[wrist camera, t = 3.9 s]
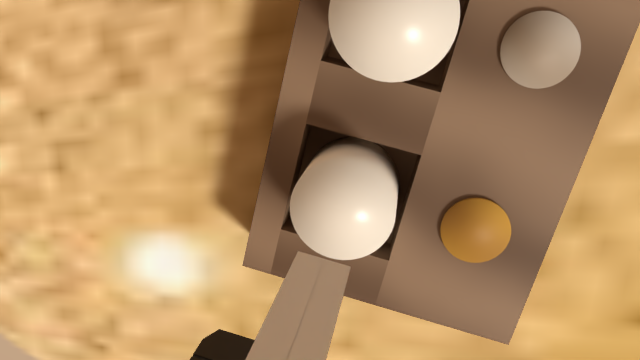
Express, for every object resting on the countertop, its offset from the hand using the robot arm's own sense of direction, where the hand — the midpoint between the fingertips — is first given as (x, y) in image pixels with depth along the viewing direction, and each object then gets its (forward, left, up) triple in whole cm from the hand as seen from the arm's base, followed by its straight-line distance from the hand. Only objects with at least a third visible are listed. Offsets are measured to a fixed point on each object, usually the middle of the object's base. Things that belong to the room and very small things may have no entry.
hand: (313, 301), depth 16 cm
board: (-8, +2, -14) cm, 16 cm away
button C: (0, 0, -12) cm, 12 cm away
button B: (-8, 0, -10) cm, 13 cm away
